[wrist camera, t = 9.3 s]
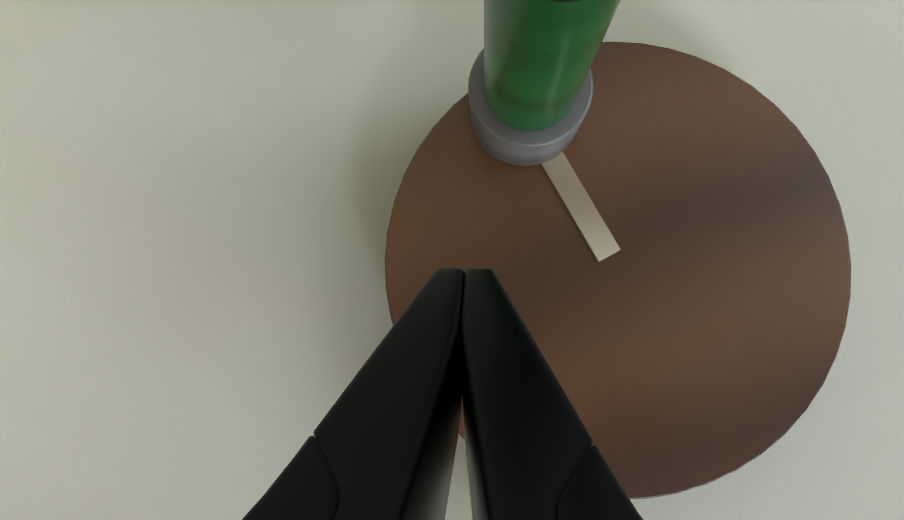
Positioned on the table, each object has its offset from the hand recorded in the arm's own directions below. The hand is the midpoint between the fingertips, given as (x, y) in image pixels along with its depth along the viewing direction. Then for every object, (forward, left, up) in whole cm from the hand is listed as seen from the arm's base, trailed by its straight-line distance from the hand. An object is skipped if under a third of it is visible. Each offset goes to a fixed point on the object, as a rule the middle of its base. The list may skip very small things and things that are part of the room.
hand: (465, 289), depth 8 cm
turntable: (+3, -2, -9) cm, 10 cm away
